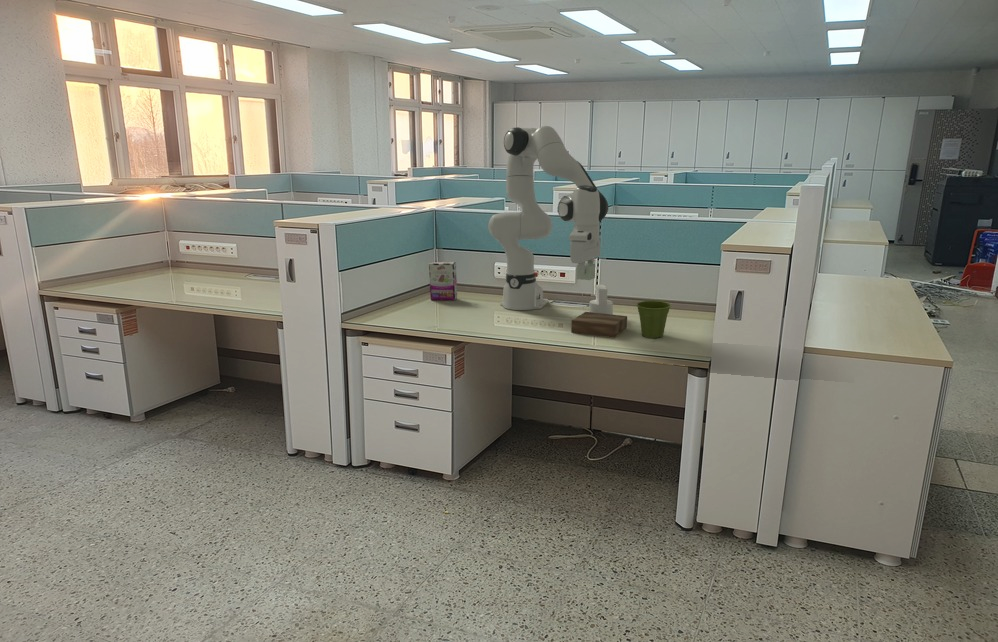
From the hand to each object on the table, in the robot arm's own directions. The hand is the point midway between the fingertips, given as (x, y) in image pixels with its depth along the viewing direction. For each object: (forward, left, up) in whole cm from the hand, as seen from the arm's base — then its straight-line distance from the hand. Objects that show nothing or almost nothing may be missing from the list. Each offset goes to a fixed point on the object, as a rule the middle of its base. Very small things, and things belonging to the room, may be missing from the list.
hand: (585, 272), depth 236 cm
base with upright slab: (-21, -1, -21) cm, 30 cm away
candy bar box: (-23, -74, -21) cm, 81 cm away
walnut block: (-2, +5, -22) cm, 22 cm away
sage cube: (0, 0, -2) cm, 2 cm away
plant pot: (-3, +24, -21) cm, 32 cm away
